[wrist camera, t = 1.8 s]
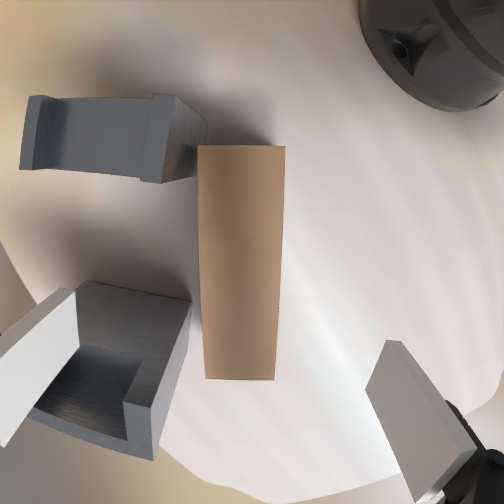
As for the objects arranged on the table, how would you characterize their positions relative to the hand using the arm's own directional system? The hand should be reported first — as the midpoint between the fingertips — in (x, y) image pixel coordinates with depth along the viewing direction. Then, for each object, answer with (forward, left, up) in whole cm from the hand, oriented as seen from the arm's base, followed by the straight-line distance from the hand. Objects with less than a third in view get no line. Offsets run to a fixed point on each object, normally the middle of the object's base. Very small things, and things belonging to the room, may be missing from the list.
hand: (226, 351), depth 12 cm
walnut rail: (0, 0, -14) cm, 14 cm away
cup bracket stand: (+8, 0, -14) cm, 16 cm away
